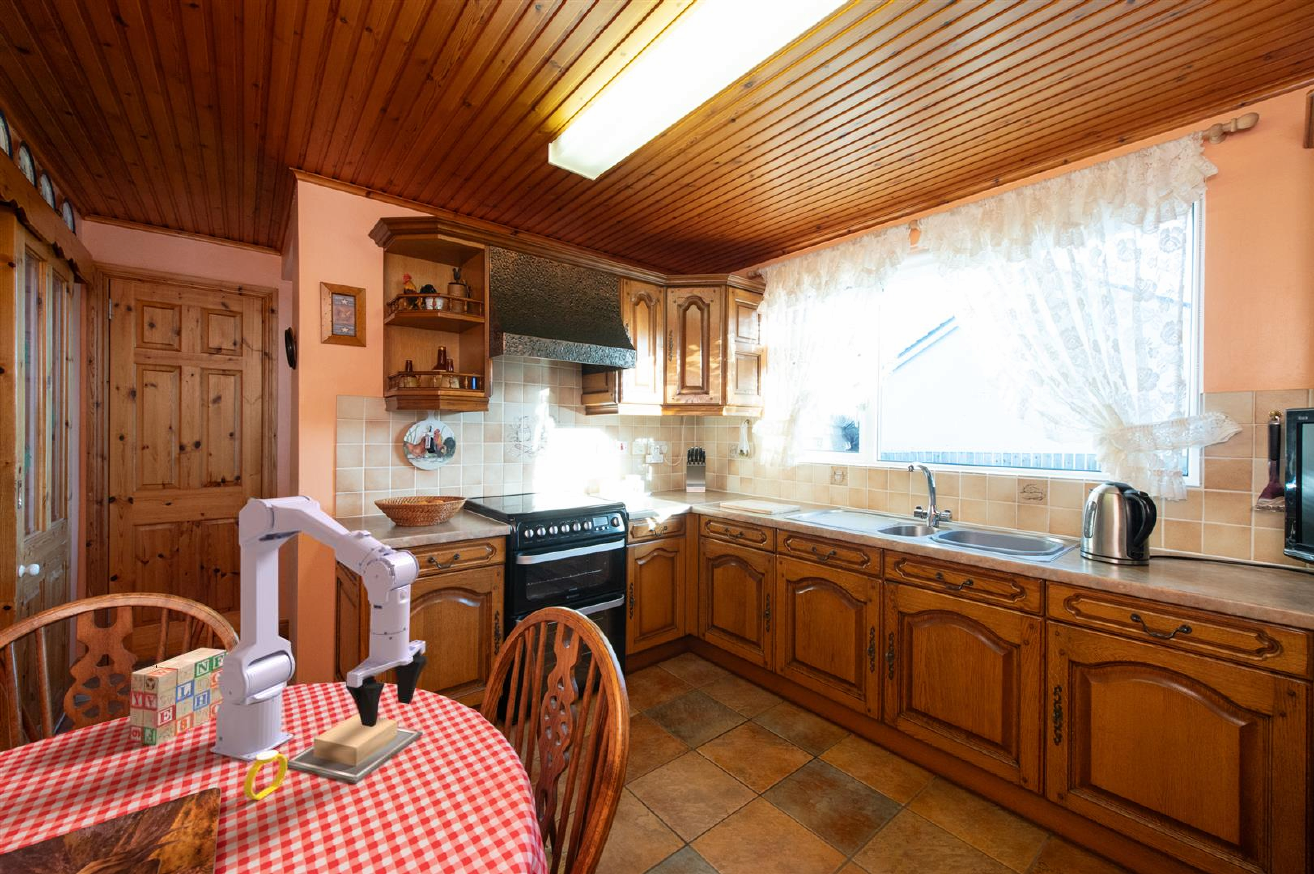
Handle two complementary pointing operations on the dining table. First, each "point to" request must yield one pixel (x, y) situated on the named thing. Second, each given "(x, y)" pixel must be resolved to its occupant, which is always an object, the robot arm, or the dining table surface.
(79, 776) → the dining table surface
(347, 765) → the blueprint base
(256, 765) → the watch
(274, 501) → the robot arm
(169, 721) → the stack of blocks
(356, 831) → the dining table surface
